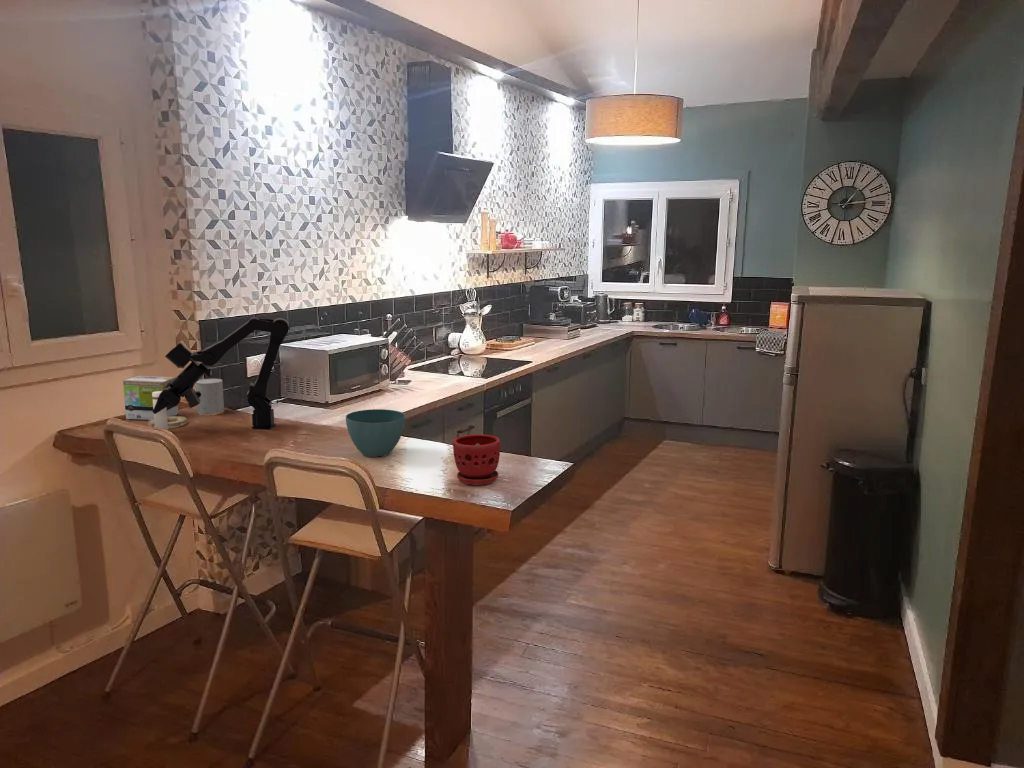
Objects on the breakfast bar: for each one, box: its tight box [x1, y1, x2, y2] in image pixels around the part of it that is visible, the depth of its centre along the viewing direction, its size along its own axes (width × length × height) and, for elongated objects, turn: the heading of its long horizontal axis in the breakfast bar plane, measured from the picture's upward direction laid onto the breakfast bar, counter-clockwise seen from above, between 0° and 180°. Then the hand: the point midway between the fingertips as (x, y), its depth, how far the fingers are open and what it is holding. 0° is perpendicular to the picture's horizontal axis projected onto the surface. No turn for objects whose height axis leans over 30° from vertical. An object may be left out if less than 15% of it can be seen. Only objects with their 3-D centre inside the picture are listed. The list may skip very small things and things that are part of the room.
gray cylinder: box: [195, 378, 225, 414], centre depth 278 cm, size 10×10×12 cm
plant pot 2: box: [452, 434, 501, 486], centre depth 206 cm, size 13×13×12 cm
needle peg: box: [152, 391, 169, 431], centre depth 249 cm, size 4×4×14 cm
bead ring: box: [147, 415, 188, 430], centre depth 261 cm, size 12×12×2 cm
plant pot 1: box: [345, 408, 406, 458], centre depth 229 cm, size 18×18×12 cm
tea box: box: [122, 375, 179, 421], centre depth 270 cm, size 15×10×15 cm, turn 88°
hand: (156, 409), depth 249 cm, fingers open, 9 cm apart
